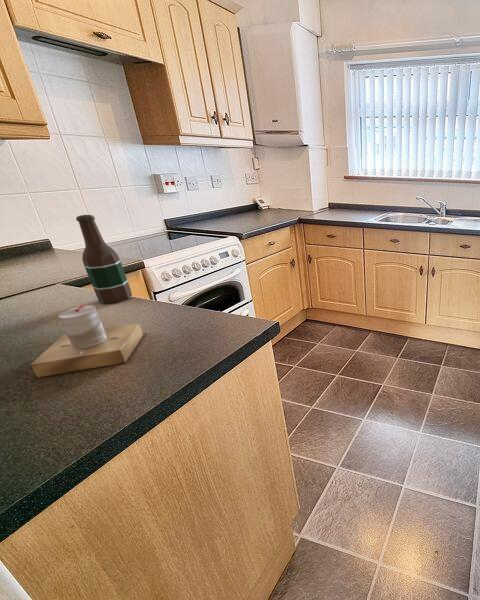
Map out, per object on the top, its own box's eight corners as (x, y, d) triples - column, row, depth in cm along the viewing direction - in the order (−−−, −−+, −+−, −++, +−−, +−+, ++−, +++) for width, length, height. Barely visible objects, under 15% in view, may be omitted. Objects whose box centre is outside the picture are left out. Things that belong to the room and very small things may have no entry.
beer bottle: (99, 298, 99) (65, 215, 89) (131, 291, 103) (103, 212, 93) (99, 306, 93) (63, 219, 83) (133, 299, 98) (103, 215, 88)
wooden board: (37, 377, 64) (29, 363, 62) (68, 346, 74) (62, 333, 73) (125, 362, 68) (120, 349, 67) (143, 334, 78) (139, 323, 77)
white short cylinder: (101, 345, 68) (87, 313, 65) (66, 351, 67) (51, 318, 64) (111, 333, 73) (99, 302, 70) (80, 337, 71) (66, 306, 68)
